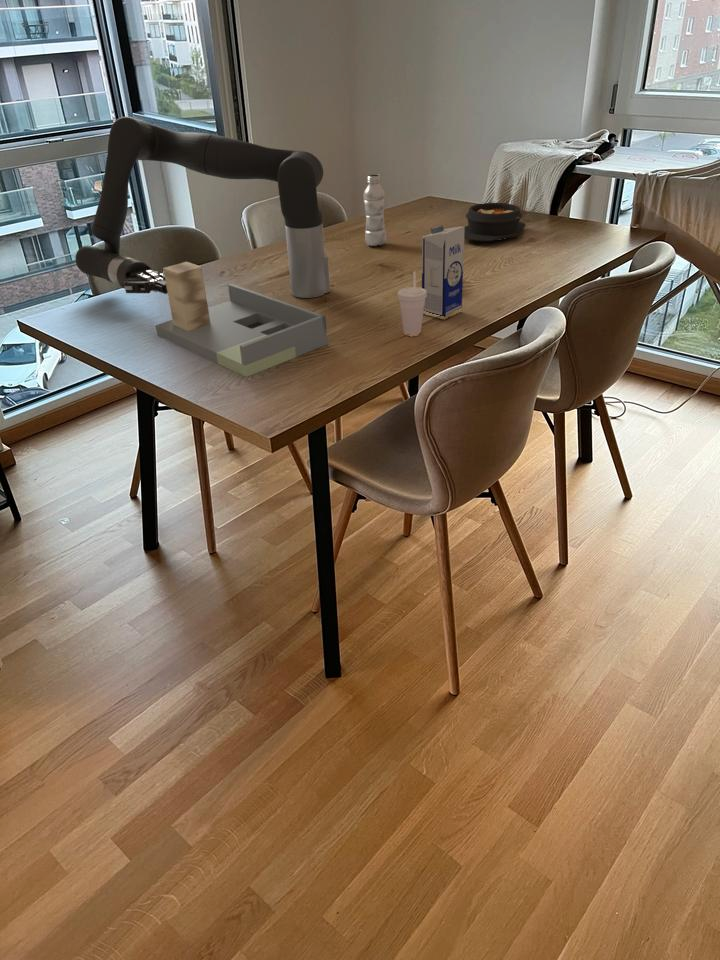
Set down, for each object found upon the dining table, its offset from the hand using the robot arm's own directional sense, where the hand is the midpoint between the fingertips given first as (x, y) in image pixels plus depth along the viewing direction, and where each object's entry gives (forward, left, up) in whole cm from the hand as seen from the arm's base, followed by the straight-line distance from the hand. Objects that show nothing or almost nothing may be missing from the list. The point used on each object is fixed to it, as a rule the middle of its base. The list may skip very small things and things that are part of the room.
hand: (168, 288), depth 173 cm
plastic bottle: (-69, -36, -9) cm, 79 cm away
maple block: (-3, +7, -7) cm, 10 cm away
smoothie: (-46, +32, -9) cm, 57 cm away
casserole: (-104, -26, -9) cm, 108 cm away
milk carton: (-58, +24, -9) cm, 64 cm away
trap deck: (-11, +16, -9) cm, 22 cm away
